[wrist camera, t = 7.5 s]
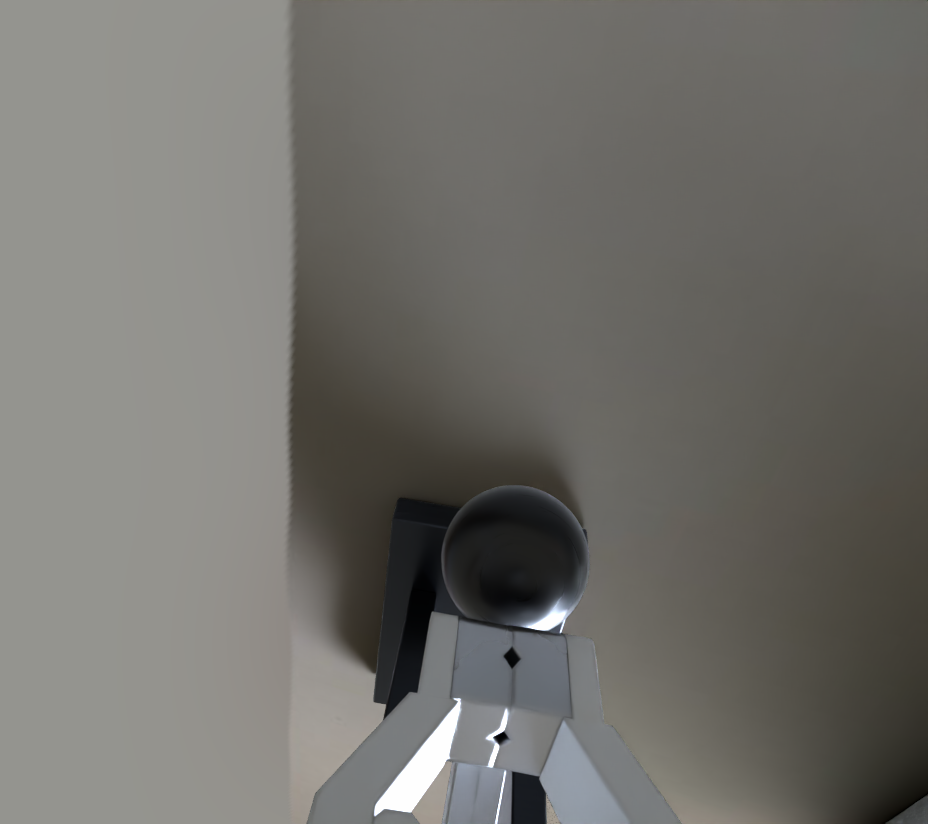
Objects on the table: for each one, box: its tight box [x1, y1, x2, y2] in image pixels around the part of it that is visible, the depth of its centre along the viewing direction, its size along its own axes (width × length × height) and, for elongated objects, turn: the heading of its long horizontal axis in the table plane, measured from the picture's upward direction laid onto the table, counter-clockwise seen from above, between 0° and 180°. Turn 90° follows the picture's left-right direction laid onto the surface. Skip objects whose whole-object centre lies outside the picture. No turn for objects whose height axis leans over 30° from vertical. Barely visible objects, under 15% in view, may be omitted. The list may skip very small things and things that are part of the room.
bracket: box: [373, 498, 588, 824], centre depth 18 cm, size 11×7×15 cm, turn 172°
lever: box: [441, 485, 590, 824], centre depth 13 cm, size 15×3×3 cm, turn 172°
